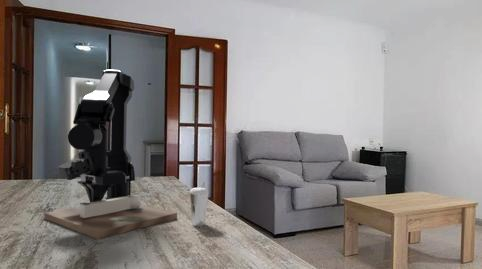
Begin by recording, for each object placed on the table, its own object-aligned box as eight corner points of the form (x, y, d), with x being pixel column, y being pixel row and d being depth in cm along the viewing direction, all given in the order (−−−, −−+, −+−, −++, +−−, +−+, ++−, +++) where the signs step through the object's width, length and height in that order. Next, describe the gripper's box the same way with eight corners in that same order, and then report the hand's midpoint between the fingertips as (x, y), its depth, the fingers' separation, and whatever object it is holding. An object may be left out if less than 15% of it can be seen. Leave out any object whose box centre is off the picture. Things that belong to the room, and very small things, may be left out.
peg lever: (134, 205, 95) (134, 193, 95) (142, 207, 93) (142, 195, 93) (78, 216, 83) (78, 202, 83) (86, 218, 80) (86, 204, 80)
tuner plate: (121, 204, 105) (121, 199, 105) (177, 218, 89) (177, 212, 89) (44, 218, 87) (44, 212, 87) (97, 239, 72) (97, 231, 72)
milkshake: (212, 222, 86) (212, 182, 86) (202, 228, 81) (203, 185, 81) (195, 220, 88) (196, 181, 88) (185, 226, 83) (186, 184, 83)
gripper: (45, 147, 86) (44, 208, 87) (83, 150, 75) (82, 221, 75) (88, 145, 95) (87, 202, 95) (127, 148, 84) (127, 212, 84)
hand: (94, 209), depth 87 cm, fingers closed
